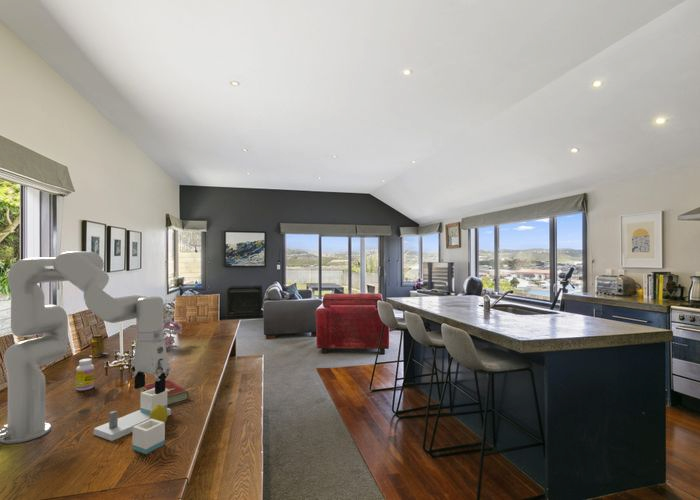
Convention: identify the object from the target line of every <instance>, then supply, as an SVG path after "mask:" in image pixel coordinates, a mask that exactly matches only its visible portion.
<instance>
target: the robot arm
mask: <svg viewBox="0 0 700 500" xmlns="http://www.w3.org/2000/svg"><path fill="white" fill-rule="evenodd" d="M104 267H105V265H104V260H103V257H101V255H100V254H98V253H96V252H93V251H78V250H77V251H76V250H75V251H72V250H71V251H65V252H62V253H59V254H58V255H57V256H56V257H29V258H24V259H19V260H18V261H15V263H13V264H12V265H11V266H10V268H9V270H8V273H7V284H8V288H9V292H10V329H11V333H12V334H13V335H14V336H16V337H20V338H26V337H33V336H37V335H41V334H42V336H41V337H35V338H31V339H30V338H29V339H26V340H22V341H19V342H16V343H14V344H12V345H10V346H9V347H7V349H6V350H5V352H4V354H3V362H4V366H5V369H6V370H5V371H6V376H7V377H6V378H7V421H6V422H7V423H6V424H3V428H1V429H0V442H1V443H3V444H19V443H20V444H21V443H25V442H28V441H32V440H35V439H37V438H40V437H43V436H44V435H46V434H47V433H49V432H50V430H51V428H52V427H51V426H52V425H51V424H50V423H48V422H46V376H45V374H44V372H42V371H41V369H40V368H39V367H40V366H42V365H47V364H50V363H53V362H55V361H58V360H61V359H62V358H63V357H65V355H66V353H67V351H68V346H69V345H68V343H69V342H68V341H69V340H68V339H69V334H68V333H69V320H68V319H69V318H68V314H67V311H66V310H65V309H64V308H63V307H62V306H60V305H57V304H48V305H46V304H45V299H46V298H45V296H46V295H45V293H44V291H43V289H42V288H41V287H40V285H39V284H42V283H43V284H44V283H56V282H58V283H59V282H67V281H68V282H69V283H71V284H72V285H74V286H75V287H76V288H77V289H79V290H80V291H82V292H83V300H84V303H85V306H86V307H87V309H88V310H89V311H90V312H91V313H93V314H94V315H95V316H96V317H98V318H99V319H101V320H102V321H105V322H107V323H110V324H114V323H115V324H116V323H121V322H126V321H130V320H135V319H136V330H135V331H136V338H135V339H136V340H135V341H136V342H135V346H134V348H135V349H134V358H133V359H131V360H130V364H131V370H132V372H133V373H132V374H133V377H134V387H133V388H134V389H135V390H138V389H141V387H144V386H145V384H146V374H149V375H153V376H154V378H155V381H154V382H155V394H159V393H162V392H164V391H165V380H166V379H168V376H169V372H170V370H171V367H170V365H169V364H168V354H167V348H166V345H165V341H164V340H163V338H164V337H163V333H164V332H163V331H164V330H163V319H164V300H163V298H162V297H160V296H143V295H138V294H134V295H126V296H120V297H112V296H111V295H110V294H108V293H107V292H106V291H104V289H105V287H106V286H107V285H108V283H109V279H110V278H109V277H110V276H109V274H108V273H107V272H106V271H104V270H103V269H104ZM159 374H160V375H159Z"/></svg>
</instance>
